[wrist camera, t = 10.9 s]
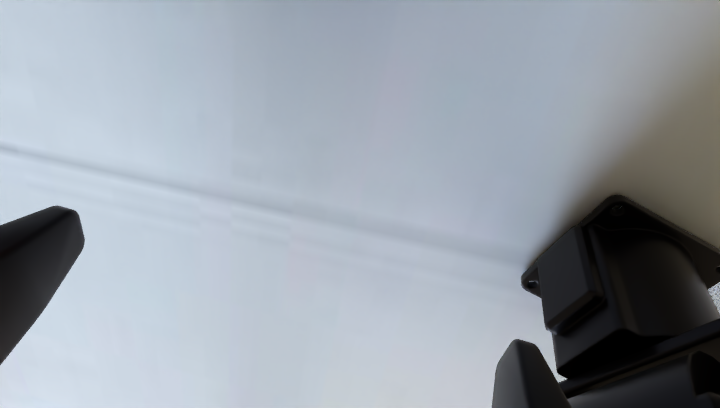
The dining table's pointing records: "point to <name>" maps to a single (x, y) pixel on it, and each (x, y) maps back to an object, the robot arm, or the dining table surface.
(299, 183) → the dining table surface
